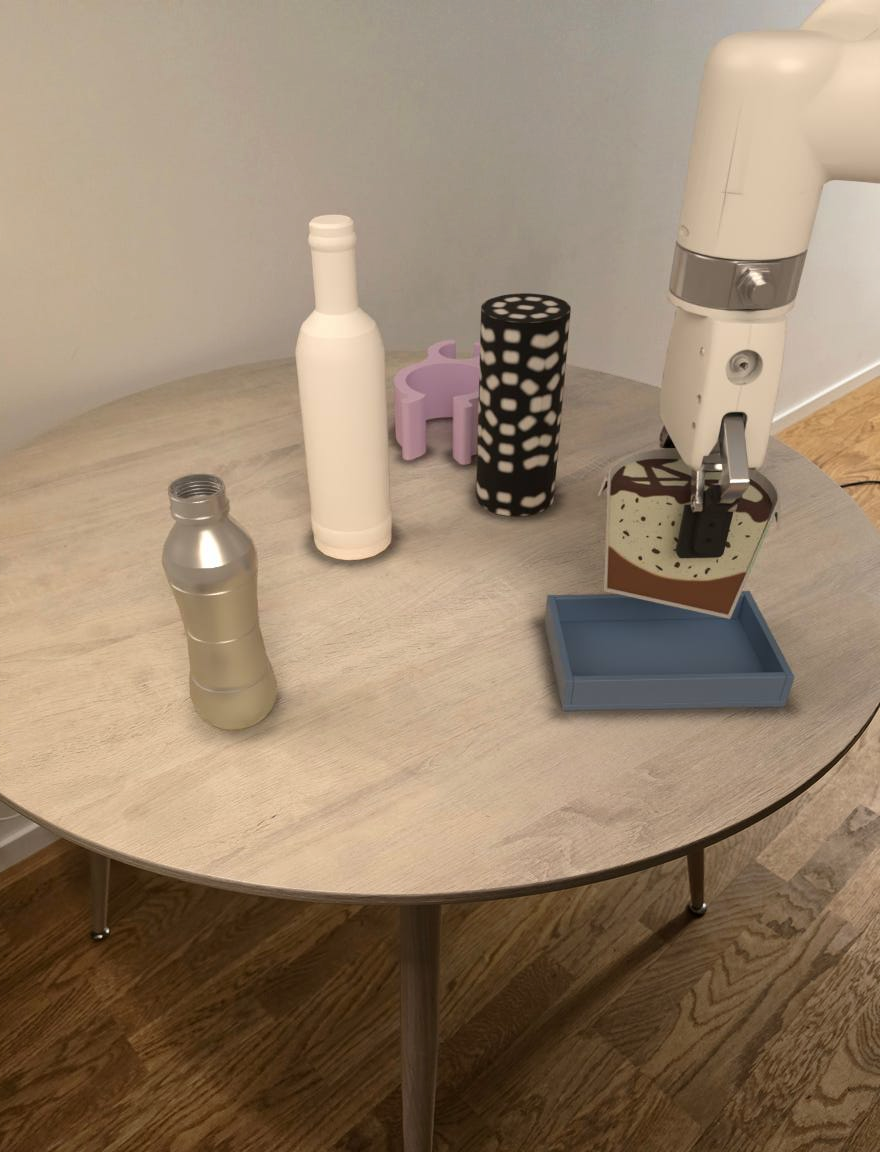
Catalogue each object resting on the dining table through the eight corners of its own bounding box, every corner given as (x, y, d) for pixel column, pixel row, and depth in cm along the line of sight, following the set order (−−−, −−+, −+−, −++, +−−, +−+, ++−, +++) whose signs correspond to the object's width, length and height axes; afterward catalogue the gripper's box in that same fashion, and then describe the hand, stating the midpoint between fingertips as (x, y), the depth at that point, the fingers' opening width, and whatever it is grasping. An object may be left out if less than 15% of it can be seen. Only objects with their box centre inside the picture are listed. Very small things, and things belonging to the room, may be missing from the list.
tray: (742, 619, 78) (749, 590, 76) (785, 707, 69) (795, 676, 67) (544, 623, 78) (547, 594, 76) (562, 711, 69) (566, 681, 68)
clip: (418, 389, 119) (418, 337, 114) (512, 395, 116) (515, 343, 112) (382, 458, 104) (380, 401, 99) (489, 466, 101) (491, 409, 97)
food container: (760, 579, 69) (794, 462, 63) (751, 623, 65) (787, 502, 59) (602, 546, 73) (620, 433, 67) (584, 586, 69) (601, 469, 62)
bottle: (389, 562, 86) (376, 232, 68) (308, 561, 87) (273, 233, 68) (394, 519, 93) (384, 206, 74) (319, 519, 93) (290, 207, 74)
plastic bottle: (221, 677, 74) (177, 456, 61) (295, 695, 72) (265, 471, 59) (179, 728, 69) (122, 501, 57) (256, 750, 67) (215, 519, 55)
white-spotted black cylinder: (465, 508, 94) (468, 317, 82) (489, 473, 100) (496, 289, 88) (541, 522, 91) (557, 327, 79) (562, 485, 97) (580, 298, 85)
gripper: (852, 323, 48) (774, 594, 59) (752, 236, 61) (704, 469, 72) (711, 326, 48) (659, 596, 59) (642, 238, 61) (611, 471, 72)
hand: (684, 524), depth 65 cm, fingers closed on food container, 7 cm apart
